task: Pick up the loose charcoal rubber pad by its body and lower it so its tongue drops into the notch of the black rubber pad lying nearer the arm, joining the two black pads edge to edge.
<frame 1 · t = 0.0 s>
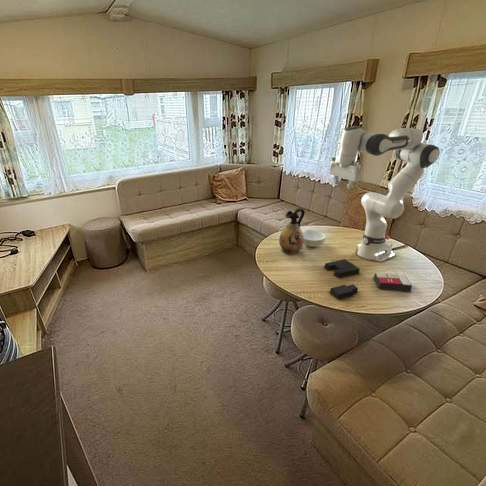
hand: (342, 186, 160), 48 cm above the table, tool pointing down, fingers open, 8 cm apart
ceramic jug: (291, 251, 196), on the table
cereal bowl: (311, 244, 205), on the table
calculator: (391, 284, 160), on the table
pad a: (341, 270, 174), on the table
pad b: (340, 294, 153), on the table
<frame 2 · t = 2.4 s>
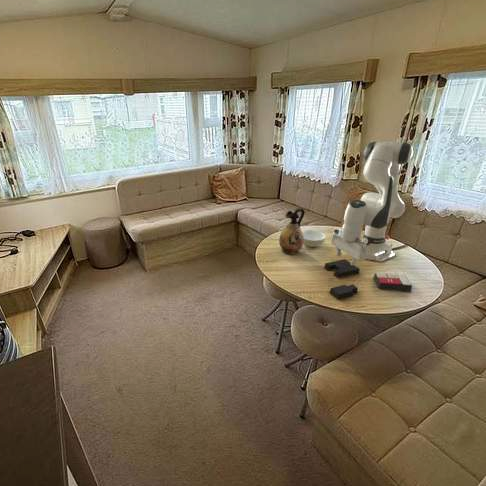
hand: (345, 260, 147), 19 cm above the table, tool pointing down, fingers open, 8 cm apart
nothing on the table moved.
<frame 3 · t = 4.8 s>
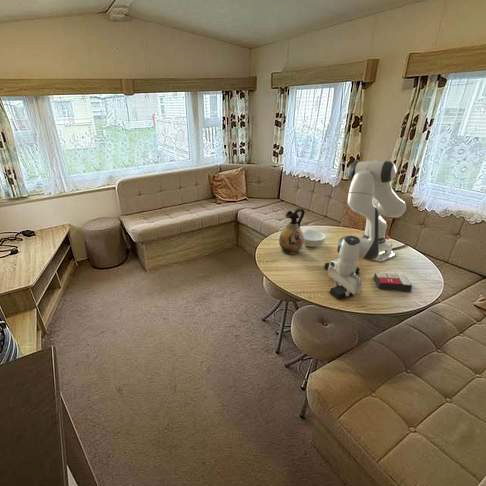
hand: (341, 291, 152), 2 cm above the table, tool pointing down, fingers closed on pad b, 6 cm apart
pad b: (340, 294, 153), on the table, touching gripper
everything else where it was.
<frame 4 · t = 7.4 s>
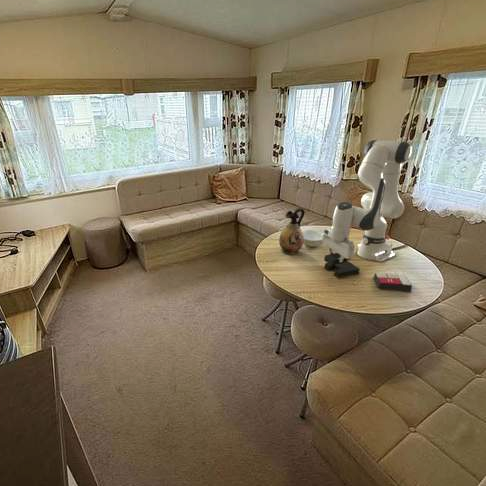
hand: (335, 258, 157), 15 cm above the table, tool pointing down, fingers closed on pad b, 6 cm apart
pad b: (335, 261, 158), point 13 cm above the table, touching gripper
everything else where it was.
when the fingers open (2 cm above the table, at t = 10.6 s): pad b stays where it is, on the table.
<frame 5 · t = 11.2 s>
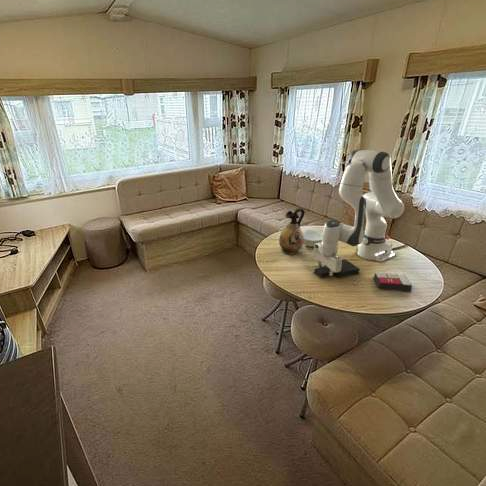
hand: (324, 271, 169), 2 cm above the table, tool pointing down, fingers open, 8 cm apart
pad b: (323, 274, 170), on the table
everything else where it was.
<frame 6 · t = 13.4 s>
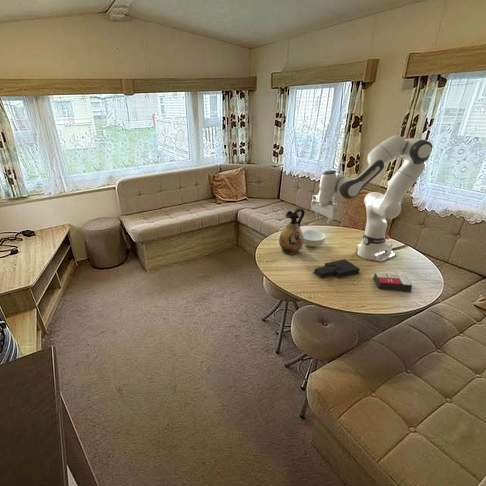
hand: (322, 221, 179), 24 cm above the table, tool pointing down, fingers open, 8 cm apart
nothing on the table moved.
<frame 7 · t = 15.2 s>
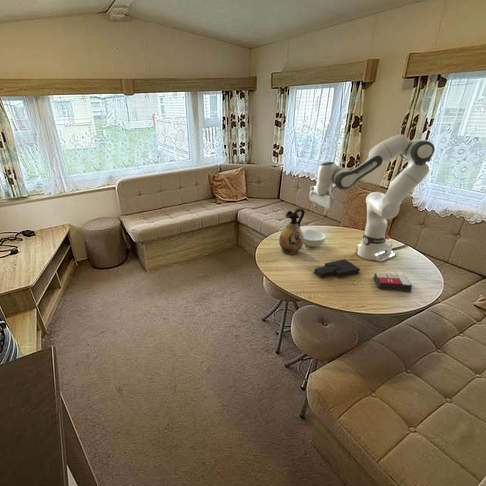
hand: (320, 211, 185), 27 cm above the table, tool pointing down, fingers open, 8 cm apart
nothing on the table moved.
at the end: pad b 0.1 cm from the target spot on the table beside the pad a, on the table; pad b tilted 0°; the gripper is holding nothing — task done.
